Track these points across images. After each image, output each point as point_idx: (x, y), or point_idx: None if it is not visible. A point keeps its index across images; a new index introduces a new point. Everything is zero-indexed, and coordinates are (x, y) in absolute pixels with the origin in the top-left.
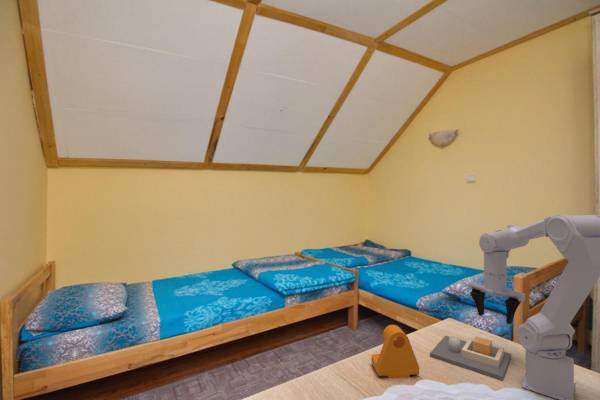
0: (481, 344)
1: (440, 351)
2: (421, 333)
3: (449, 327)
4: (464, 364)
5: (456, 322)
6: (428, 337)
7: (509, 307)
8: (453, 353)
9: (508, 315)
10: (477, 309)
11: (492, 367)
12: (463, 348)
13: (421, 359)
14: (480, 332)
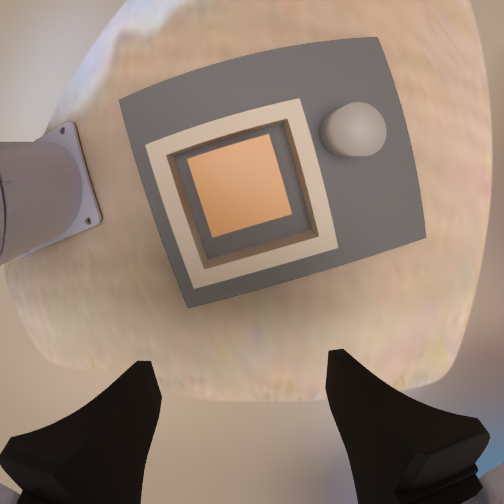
0: (224, 147)
1: (366, 76)
2: (480, 197)
3: (437, 332)
4: (249, 55)
5: (428, 382)
6: (457, 187)
7: (64, 432)
8: (328, 102)
9: (113, 393)
10: (363, 366)
11: (169, 128)
12: (300, 116)
13: (371, 6)
14: None
